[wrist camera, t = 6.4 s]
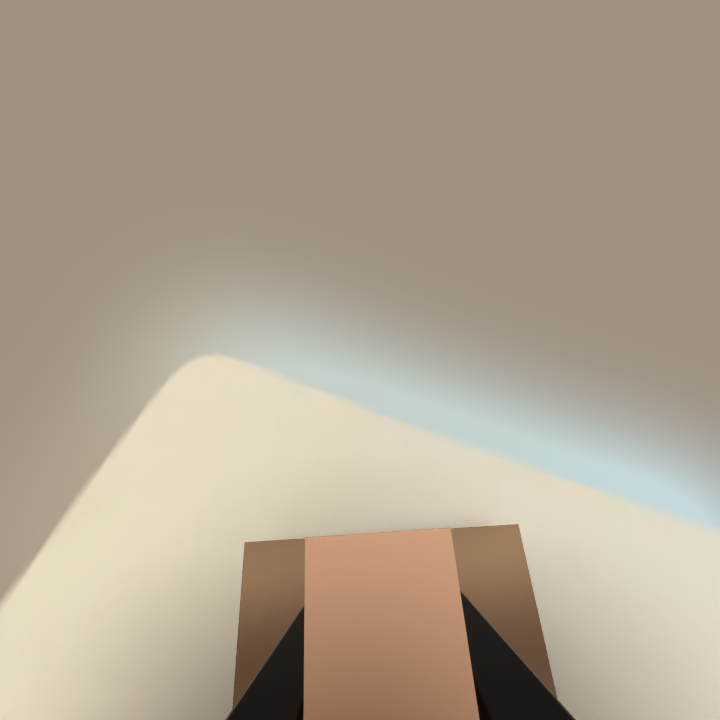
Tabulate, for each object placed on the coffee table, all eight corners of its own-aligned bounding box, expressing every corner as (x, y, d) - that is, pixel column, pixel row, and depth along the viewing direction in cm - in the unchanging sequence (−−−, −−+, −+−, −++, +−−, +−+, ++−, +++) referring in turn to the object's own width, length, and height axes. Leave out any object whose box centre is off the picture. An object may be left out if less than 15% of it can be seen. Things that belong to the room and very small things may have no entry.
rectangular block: (433, 758, 12) (531, 1065, 4) (361, 763, 12) (300, 1075, 4) (414, 583, 15) (450, 527, 6) (353, 587, 15) (304, 537, 6)
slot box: (543, 786, 16) (587, 833, 12) (258, 801, 16) (221, 852, 12) (495, 541, 20) (517, 524, 16) (269, 556, 20) (244, 542, 16)
